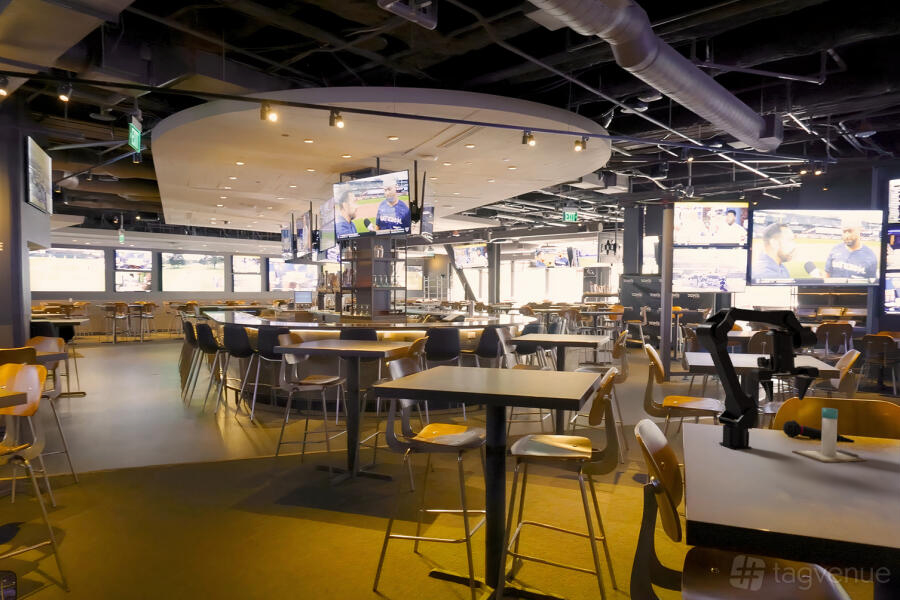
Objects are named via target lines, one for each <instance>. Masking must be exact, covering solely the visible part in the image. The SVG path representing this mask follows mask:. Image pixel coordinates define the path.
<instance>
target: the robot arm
mask: <svg viewBox="0 0 900 600" xmlns="http://www.w3.org/2000/svg"><path fill="white" fill-rule="evenodd" d="M737 321H739V322H749V323H758V324H762V325H764V326H766V327H769V328H770V329H769V330H768V332H766V333H765V337H771V347H772V349H771V350H772V352H771V353H770V354H769V358H766V357H765V356H759V357H757V358H756V363H757V367H758V368H752V369H750V371H749V378H750V379H754V381H755V382H759V384H760V385H761V386H762V388H763V390H764V393H765V395H766V397H767V399H768V401H769V402H770V403H773V402H774V401H773V400H774V380H772V378H774V377H787V376H789V377H790V376H795V379H796V380H797V392H798V393H797V394H798V395H797V396H798V400H799V401H803V400H804V398H805V395H806V394H807V391H808V390H809V387H811V384H812V383H813V381H815V380H817V378H819V377H821V370H820V369H819V368H818V367H817V366H811V365H799V366H796V365H795V364H796V363H795V358H798V355H797V353H795V350H800V349H811V348H815V347H816V346H817V344H818V342H819V341H818V340H819V339H818V336H817V334H816V332H815V331H813V330H812V326H810V325H804V326H803V325H802V324H801V322H800V320H799V319H798V318H797V316H796V314H795V312H794V311H793V310H791V309H767V310H757V309H748V308H740V307H739V308H738V307H736V306H724V307H722V308H721V309H719V310H718V311H717V312H716V313H714V314H713V315H711V316H709V317H708V318H706V319H705V320H704V321H702V322H700V323H699V324H698V325H697V326H696V329H694V330H695V336H696V338H697V339H698V341H699V343H700V344H701V346H702V347H704V349H706V351H707V352H708V353H709V355H710V358H711V361H712V362H713V366H714V368H715V370H716V373H717V376H718V378H719V381H720V383H721V385H722V388H723V391H724V393H725V398H724V410H722V412H721V413H720V414H719V415H718V416H717V419H718V423H719V424H722V441H719V442H718V443H719V445H721V446H724V447H726V448H729V449H732V450H745V449H746V450H748V449H752V446H750V432H749V431H750V430H752V429H753V427H754V424H755V422H756V419H757V416H758V408H759V406H758V405H757V403H756V400H755V399H756V398H755V397H754V395H753V394H748V393H745V392H744V390H743V388H742V384H741V382H740V379H739V377H738V374H737V372H736V368H735V367H734V364H733V361H732V359H731V356H730V353H729V351H728V344H729V336H728V334H729V333H730V332H731V331H732V329H733V328H734V325H735V323H736V322H737Z"/></svg>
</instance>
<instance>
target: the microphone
mask: <svg viewBox="0 0 900 600" xmlns="http://www.w3.org/2000/svg"><path fill="white" fill-rule="evenodd" d="M782 426H783V428H782V430H783V433H784V434H785V435H787V436H789V437H790V438H796V437H798V436H800V437H804V438H808V439H813V440H815V439H819V440H821V437H822V429H818V428H813V427H810V426H805V425H801V424H800V423H798V422H797V421H796V420H793V419H792V420H788V421H785V422H784V423H783V425H782ZM837 442H844V443H845V442H846V443H855V440H854V439H852V438H848V437H844V436H843V435H840V434H838V433H837Z"/></svg>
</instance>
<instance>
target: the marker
mask: <svg viewBox="0 0 900 600" xmlns="http://www.w3.org/2000/svg"><path fill="white" fill-rule="evenodd" d="M838 416H839V409H837V408H834V407H821V430H822V437H821V439H820V440H821V445H820V446H821V447H820V450H821V454H823V455H827V456H836V450H837V443H838V441H837V434H838V419H839V418H838Z"/></svg>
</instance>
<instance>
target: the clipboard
mask: <svg viewBox="0 0 900 600" xmlns="http://www.w3.org/2000/svg"><path fill="white" fill-rule="evenodd" d="M791 452H792V453H794V454H797V455H799V456H802V457H806V458H809V459H811V460H814V461H817V462H821V463H824V464H825V463H826V462H829V463H850V462H849V461H862V462H867V461H868V460H867V459H866V458H863V457H862V458H861V457H859V454H856V453H853V452H849V451H847V450H843V449H836V456H827V455H823V454H821V449H820V450H819V449H814V450H791ZM826 464H827V463H826Z"/></svg>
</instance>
